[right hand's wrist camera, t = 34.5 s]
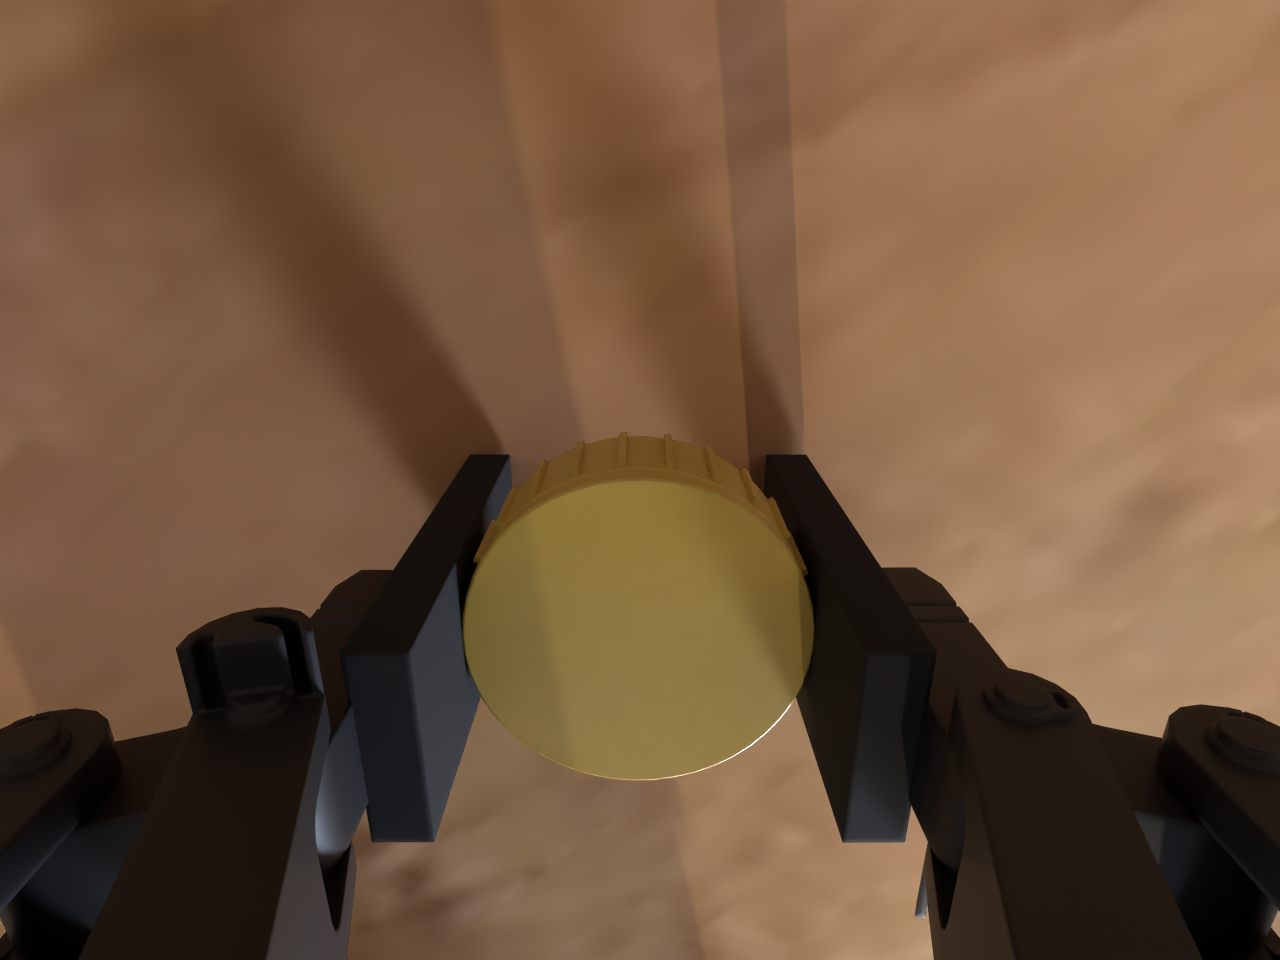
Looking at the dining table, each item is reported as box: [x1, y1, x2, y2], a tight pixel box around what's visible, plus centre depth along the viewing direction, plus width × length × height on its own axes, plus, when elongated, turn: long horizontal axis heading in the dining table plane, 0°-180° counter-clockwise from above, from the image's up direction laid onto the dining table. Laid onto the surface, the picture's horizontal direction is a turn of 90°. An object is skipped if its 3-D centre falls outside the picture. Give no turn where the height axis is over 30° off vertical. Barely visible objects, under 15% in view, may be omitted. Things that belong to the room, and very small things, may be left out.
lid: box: [462, 432, 815, 780], centre depth 11 cm, size 5×5×2 cm
